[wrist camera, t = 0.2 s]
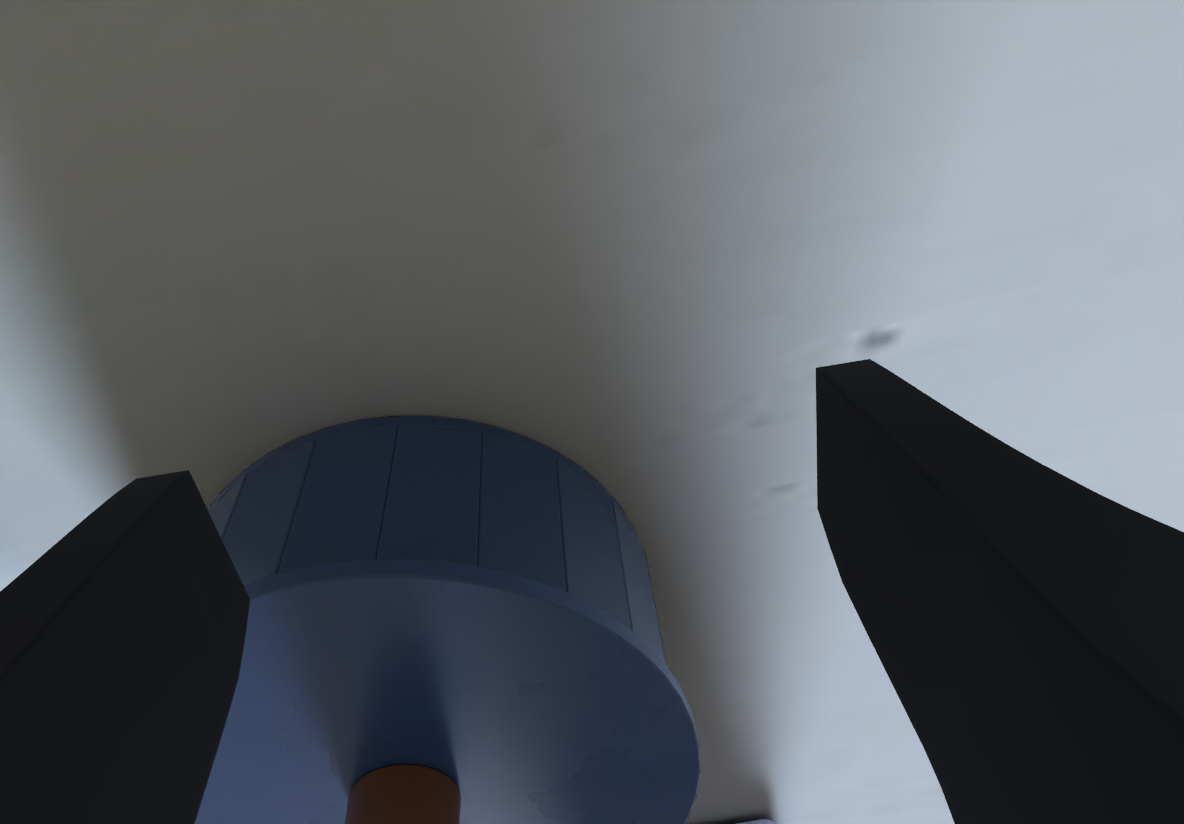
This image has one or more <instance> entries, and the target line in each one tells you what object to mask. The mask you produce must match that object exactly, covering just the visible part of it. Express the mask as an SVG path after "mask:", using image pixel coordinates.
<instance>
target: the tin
mask: <svg viewBox="0 0 1184 824" xmlns="http://www.w3.org/2000/svg"><path fill="white" fill-rule="evenodd" d="M208 512H209V514H210V516H211V518H212V520H213V522H214V524H215V527H216V529H217V531H218V533H219V535H220V537H221V539H222V541H223V543H224V545H225V548H226V550H227V552H228V554H229V556H230V558H231V560H232V562H233V564H234V566H235V569H236V571H237V573H238V575H239V577H240V579H241V581H242V583H243V584H246V583H249V582H252V581H255V580H258V579H261V578H263V577H266V576H269V575H272V574H277V573H281V572H286V571H290V570H295V569H299V568H304V567H308V566H313V565H318V564H327V563H335V562H344V561H352V560H360V559H404V558H410V559H423V560H435V561H448V562H458V563H463V564H469V565H474V566H480V567H486V568H491V569H497V570H501V571H505V572H508V573H512V574H515V575H519V576H522V577H526V578H529V579H533V580H536V581H540V582H542V583H545V584H547V585H550V586H552V587H554V588H557V589H559V590H562V591H564V592H567V593H569V594H572V595H574V596H576V597H579V598H580V599H582V600H584V601H586V602H588V603H589V604H591V605H593V606H595V607H597V608H598V609H600V610H602V611H604V612H606V613H607V614H609V615H611V616H612V617H614V618H615V619H616V620H618V621H619V622H620V623H622V624H623V625H625V626H626V627H627V628H629V629H630V630H631V631H633V632H634V633H635V634H637V635H638V636H639V637H640V638H641V639H642V640H643V641H644V642H645V643H646V644H647V645H648V646H649V647H650V648H651V649H652V650H653V651H654V652H655V653H656V654H657V655H658V656H659V657H660V658H661V659H662V660H663V661H664V663H665V664H666V660H665V655H664V649H663V644H662V639H661V633H660V628H659V623H658V617H657V612H656V607H655V601H654V596H653V591H652V585H651V580H650V575H649V569H648V564H647V559H646V554H645V552H644V549H643V547H642V545H641V542H640V540H639V538H638V536H637V534H636V531H635V529H634V527H633V525H632V523H631V522H630V520H629V519H628V517H627V515H626V514H625V512H624V511H623V509H622V508H621V506H620V505H619V504H618V502H617V501H616V500H615V499H614V498H613V497H612V496H611V495H610V494H609V492H608V491H607V490H606V489H605V488H604V487H603V486H602V485H601V484H600V483H599V482H598V481H597V480H595V479H594V478H593V477H592V476H591V475H589V474H588V473H587V472H586V471H585V470H583V469H582V468H581V467H580V466H578V465H577V464H575V463H574V462H572V461H570V460H569V459H567V458H566V457H564V456H562V455H561V454H559V453H558V452H556V451H554V450H553V449H550V448H548V447H546V446H544V445H542V444H540V443H538V442H535V441H533V440H531V439H529V438H527V437H524V436H521V435H518V434H515V433H512V432H509V431H506V430H503V429H500V428H497V427H494V426H490V425H485V424H480V423H476V422H471V421H466V420H461V419H451V418H441V417H432V416H393V417H384V418H375V419H367V420H359V421H355V422H350V423H346V424H342V425H337V426H333V427H329V428H325V429H323V430H320V431H317V432H314V433H312V434H309V435H306V436H303V437H300V438H298V439H295V440H293V441H292V442H290V443H288V444H286V445H284V446H282V447H280V448H278V449H276V450H274V451H272V452H270V453H268V454H267V455H265V456H264V457H262V458H261V459H260V460H258V461H257V462H255V463H254V464H252V465H251V466H249V467H248V468H247V469H245V470H244V471H243V472H242V473H241V474H240V475H239V476H237V477H236V478H235V479H234V480H233V481H232V482H231V483H230V484H229V485H228V486H227V487H226V488H225V489H224V490H223V491H222V492H221V494H220V495H219V496H218V498H217V499H216V500H215V501H214V503H213V504H212V505H211V507H210V508H209V509H208ZM666 666H667V665H666Z"/></svg>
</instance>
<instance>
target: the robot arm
mask: <svg viewBox="0 0 1184 824" xmlns="http://www.w3.org/2000/svg"><path fill="white" fill-rule="evenodd" d="M816 415H817V495H818V511H819V514H820V517H821V520H822V523H823V526H824V529H825V532H826V535H827V538H828V541H829V545H830V548H831V551H832V553H833V556H834V559H835V562H836V565H837V568H838V571H839V573H840V576H841V579H842V582H843V584H844V586H845V588H846V590H847V592H848V595H849V597H850V599H851V601H852V603H853V605H854V607H855V609H856V611H857V613H858V615H859V617H860V619H861V621H862V623H863V626H864V628H865V630H866V632H867V634H868V636H869V638H870V640H871V642H872V644H873V646H874V648H875V650H876V652H877V654H878V656H879V658H880V660H881V662H882V664H883V666H884V668H885V670H886V672H887V674H888V676H889V678H890V680H891V682H892V684H893V686H894V688H895V690H896V692H897V694H898V696H899V698H900V700H901V702H902V704H903V706H904V708H905V710H906V713H907V715H908V717H909V719H910V721H911V723H912V725H913V727H914V729H915V731H916V733H917V735H918V737H919V739H920V741H921V743H922V745H923V747H924V749H925V751H926V754H927V756H928V758H929V760H930V763H931V765H932V767H933V769H934V772H935V774H936V776H937V779H938V781H939V783H940V785H941V788H942V790H943V793H944V796H945V799H946V801H947V804H948V807H949V809H950V812H951V815H952V817H953V820H954V823H955V824H1184V532H1181V531H1179V530H1177V529H1174V528H1172V527H1170V526H1168V525H1165V524H1163V523H1161V522H1158V521H1156V520H1154V519H1152V518H1149V517H1147V516H1145V515H1142V514H1140V513H1138V512H1136V511H1133V510H1131V509H1129V508H1127V507H1125V506H1122V505H1120V504H1118V503H1116V502H1114V501H1112V500H1110V499H1108V498H1106V497H1104V496H1102V495H1100V494H1098V493H1096V492H1094V491H1092V490H1090V489H1088V488H1086V487H1084V486H1082V485H1080V484H1078V483H1076V482H1075V481H1073V480H1071V479H1069V478H1067V477H1065V476H1063V475H1061V474H1059V473H1057V472H1056V471H1054V470H1052V469H1050V468H1048V467H1046V466H1044V465H1042V464H1040V463H1039V462H1037V461H1035V460H1033V459H1032V458H1030V457H1028V456H1026V455H1024V454H1023V453H1021V452H1019V451H1017V450H1016V449H1014V448H1012V447H1010V446H1009V445H1007V444H1005V443H1004V442H1002V441H1000V440H998V439H997V438H995V437H993V436H992V435H990V434H988V433H987V432H985V431H984V430H982V429H980V428H979V427H977V426H975V425H974V424H972V423H970V422H969V421H967V420H966V419H964V418H962V417H961V416H959V415H958V414H956V413H954V412H953V411H951V410H950V409H948V408H946V407H945V406H943V405H942V404H940V403H939V402H937V401H935V400H934V399H932V398H931V397H929V396H928V395H926V394H925V393H923V392H921V391H920V390H918V389H917V388H915V387H914V386H912V385H911V384H909V383H908V382H906V381H904V380H903V379H901V378H900V377H898V376H897V375H895V374H893V373H892V372H890V371H889V370H887V369H885V368H884V367H882V366H881V365H879V364H877V363H875V362H874V361H872V360H870V359H868V360H862V361H855V362H849V363H843V364H837V365H831V366H825V367H819V368H816ZM249 606H250V598H249V596H248V594H247V592H246V590H245V587H244V585H243V583H242V581H241V579H240V577H239V575H238V573H237V571H236V569H235V566H234V564H233V562H232V560H231V558H230V556H229V554H228V552H227V550H226V548H225V545H224V543H223V541H222V539H221V537H220V535H219V533H218V531H217V529H216V527H215V524H214V522H213V520H212V518H211V516H210V514H209V512H208V510H207V508H206V506H205V503H204V501H203V499H202V497H201V495H200V493H199V491H198V489H197V487H196V485H195V482H194V480H193V478H192V476H191V474H190V472H189V470H187V471H181V472H175V473H168V474H162V475H156V476H150V477H144V478H138V479H135V480H134V481H133V482H131V483H130V484H128V485H127V486H125V487H124V488H123V489H121V490H120V491H119V492H117V493H116V494H115V495H113V496H112V497H111V498H110V499H108V500H107V501H106V502H105V503H103V504H102V505H101V506H100V507H99V508H97V509H96V510H95V511H94V512H93V513H91V514H90V515H89V516H88V517H87V518H85V519H84V520H83V521H82V522H81V523H80V524H78V525H77V526H76V527H75V528H74V529H73V530H71V531H70V532H69V533H68V534H67V535H66V536H64V537H63V538H62V539H61V540H60V541H59V542H58V543H56V544H55V545H54V546H53V547H52V548H51V549H49V550H48V551H47V552H46V553H45V554H44V555H43V556H41V557H40V558H39V559H38V560H37V561H36V562H34V563H33V564H32V565H31V566H30V567H29V568H27V569H26V570H25V571H24V572H23V573H22V574H20V575H19V576H18V577H17V578H16V579H15V580H14V581H12V582H11V583H10V584H9V585H8V586H7V587H5V588H4V589H3V590H2V591H1V592H0V824H195V821H196V818H197V815H198V812H199V808H200V805H201V802H202V799H203V795H204V792H205V789H206V786H207V782H208V779H209V776H210V773H211V770H212V766H213V763H214V760H215V757H216V753H217V750H218V747H219V744H220V740H221V737H222V734H223V730H224V727H225V724H226V720H227V717H228V713H229V710H230V707H231V703H232V700H233V697H234V693H235V689H236V686H237V682H238V679H239V673H240V667H241V661H242V655H243V650H244V644H245V636H246V629H247V621H248V614H249ZM736 824H775V823H774V822H772V821H771V820H767V819H761V820H755V821H748V822H742V823H736Z"/></svg>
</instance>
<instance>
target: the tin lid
mask: <svg viewBox="0 0 1184 824" xmlns="http://www.w3.org/2000/svg"><path fill="white" fill-rule="evenodd" d="M243 585H244V587H245V590H246V592H247V594H248V596H249V598H250V606H249V614H248V621H247V629H246V636H245V644H244V650H243V655H242V661H241V667H240V673H239V679H238V682H237V686H236V689H235V693H234V697H233V700H232V703H231V707H230V710H229V713H228V717H227V720H226V724H225V727H224V730H223V734H222V737H221V740H220V744H219V747H218V750H217V753H216V757H215V760H214V763H213V766H212V770H211V773H210V776H209V779H208V782H207V786H206V789H205V792H204V795H203V799H202V802H201V805H200V808H199V812H198V815H197V818H196V821H195V824H685V823H686V821H687V819H688V817H689V814H690V811H691V809H692V806H693V804H694V801H695V798H696V795H697V790H698V784H699V778H700V772H701V766H700V745H699V740H698V736H697V731H696V727H695V723H694V719H693V715H692V711H691V707H690V705H689V703H688V701H687V699H686V697H685V695H684V692H683V690H682V688H681V686H680V684H679V682H678V681H677V680H676V678H675V677H674V675H673V674H672V673H671V671H670V670H669V668H668V667H667V666H666V664H665V663H664V661H663V660H662V659H661V658H660V657H659V656H658V655H657V654H656V653H655V652H654V651H653V650H652V649H651V648H650V647H649V646H648V645H647V644H646V643H645V642H644V641H643V640H642V639H641V638H640V637H639V636H638V635H637V634H635V633H634V632H633V631H631V630H630V629H629V628H627V627H626V626H625V625H623V624H622V623H620V622H619V621H618V620H616V619H615V618H614V617H612V616H611V615H609V614H607V613H606V612H604V611H602V610H600V609H598V608H597V607H595V606H593V605H591V604H589V603H588V602H586V601H584V600H582V599H580V598H579V597H576V596H574V595H572V594H569V593H567V592H564V591H562V590H559V589H557V588H554V587H552V586H550V585H547V584H545V583H542V582H540V581H536V580H533V579H529V578H526V577H522V576H519V575H515V574H512V573H508V572H505V571H501V570H497V569H491V568H486V567H480V566H474V565H469V564H463V563H458V562H448V561H435V560H423V559H410V558H404V559H360V560H352V561H344V562H335V563H327V564H318V565H313V566H308V567H304V568H299V569H295V570H290V571H286V572H281V573H277V574H272V575H269V576H266V577H263V578H261V579H258V580H255V581H252V582H249V583H246V584H243Z"/></svg>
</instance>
